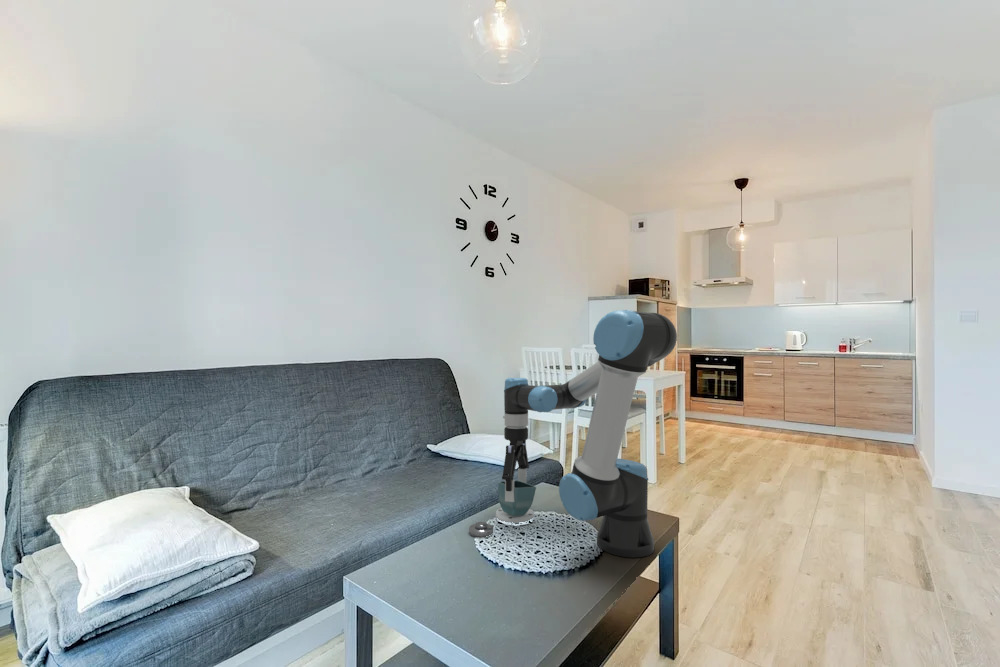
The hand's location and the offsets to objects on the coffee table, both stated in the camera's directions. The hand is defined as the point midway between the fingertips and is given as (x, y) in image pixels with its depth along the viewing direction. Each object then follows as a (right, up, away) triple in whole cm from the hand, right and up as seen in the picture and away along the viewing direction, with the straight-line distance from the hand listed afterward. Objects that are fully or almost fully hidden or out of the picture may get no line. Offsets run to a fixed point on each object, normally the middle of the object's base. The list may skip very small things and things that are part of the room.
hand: (516, 495), depth 144 cm
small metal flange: (-11, -7, -11) cm, 17 cm away
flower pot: (-1, -5, -2) cm, 6 cm away
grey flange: (0, -8, 0) cm, 8 cm away
